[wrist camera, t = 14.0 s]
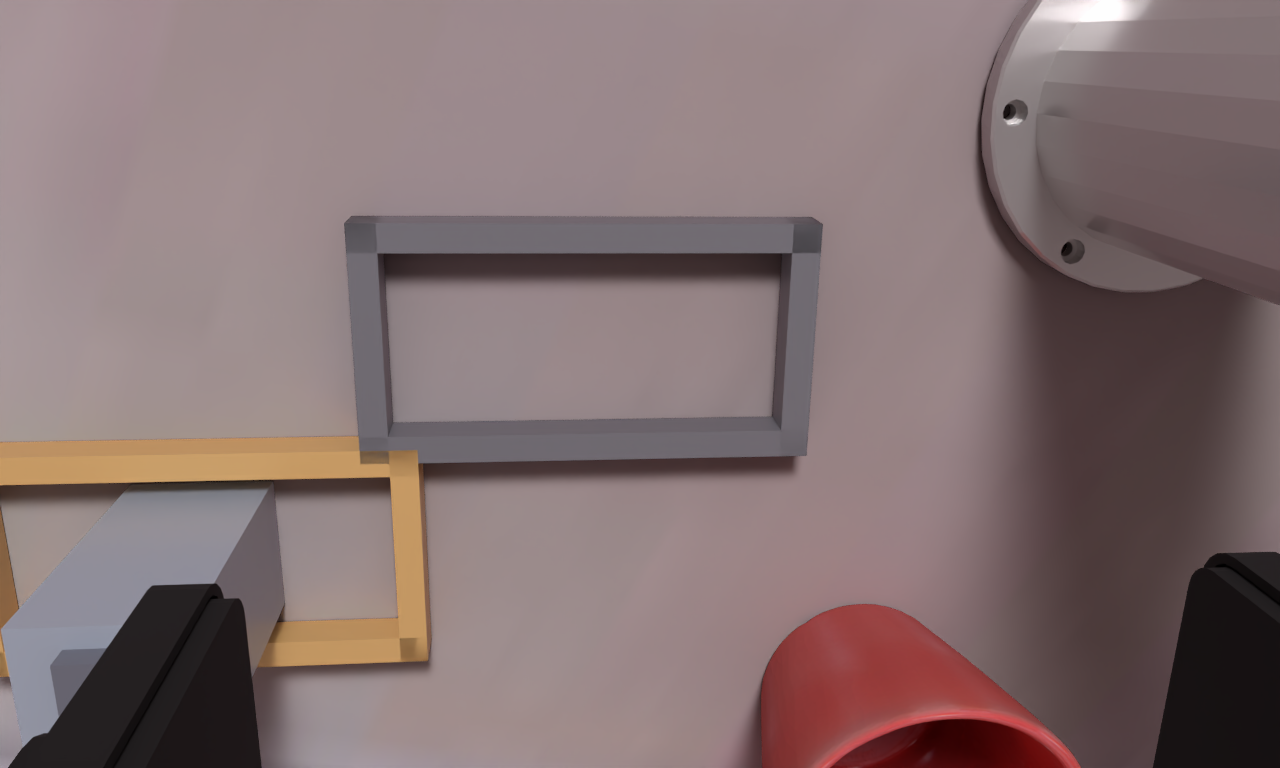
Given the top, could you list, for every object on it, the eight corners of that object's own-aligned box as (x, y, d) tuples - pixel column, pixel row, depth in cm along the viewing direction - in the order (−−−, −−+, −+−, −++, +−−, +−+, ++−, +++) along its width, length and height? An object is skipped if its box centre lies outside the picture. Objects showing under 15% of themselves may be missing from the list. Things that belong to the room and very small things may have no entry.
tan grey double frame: (812, 217, 38) (822, 224, 36) (784, 627, 43) (792, 647, 42) (-85, 214, 35) (-111, 222, 34) (-2, 654, 40) (-21, 677, 39)
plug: (273, 481, 39) (181, 638, 29) (284, 602, 41) (202, 792, 30) (130, 484, 39) (-14, 645, 28) (147, 607, 40) (17, 802, 30)
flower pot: (745, 555, 42) (805, 701, 33) (1007, 579, 43) (1135, 725, 34) (701, 782, 45) (744, 973, 36) (947, 797, 46) (1050, 984, 37)
